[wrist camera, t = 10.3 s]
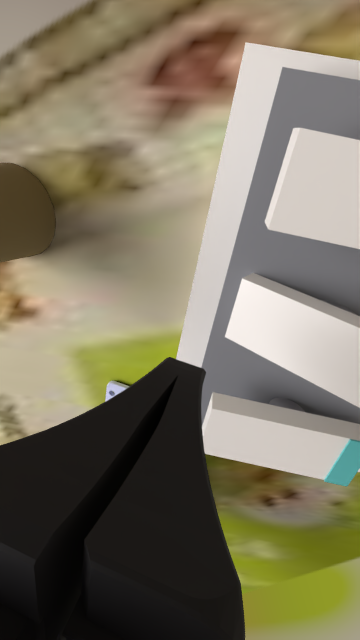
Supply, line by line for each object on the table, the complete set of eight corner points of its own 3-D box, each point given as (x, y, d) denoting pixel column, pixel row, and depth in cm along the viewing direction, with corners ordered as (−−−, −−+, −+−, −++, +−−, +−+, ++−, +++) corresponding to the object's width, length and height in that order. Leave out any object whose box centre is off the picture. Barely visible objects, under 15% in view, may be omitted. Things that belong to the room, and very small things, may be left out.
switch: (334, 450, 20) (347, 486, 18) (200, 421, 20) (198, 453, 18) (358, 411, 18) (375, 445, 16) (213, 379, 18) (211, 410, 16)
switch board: (423, 484, 23) (442, 535, 20) (170, 393, 26) (154, 425, 23) (733, 128, 12) (874, 122, 9) (248, 48, 15) (237, 24, 12)
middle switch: (402, 400, 15) (397, 428, 13) (244, 322, 19) (223, 337, 17) (443, 340, 13) (443, 364, 12) (261, 268, 17) (241, 278, 15)
